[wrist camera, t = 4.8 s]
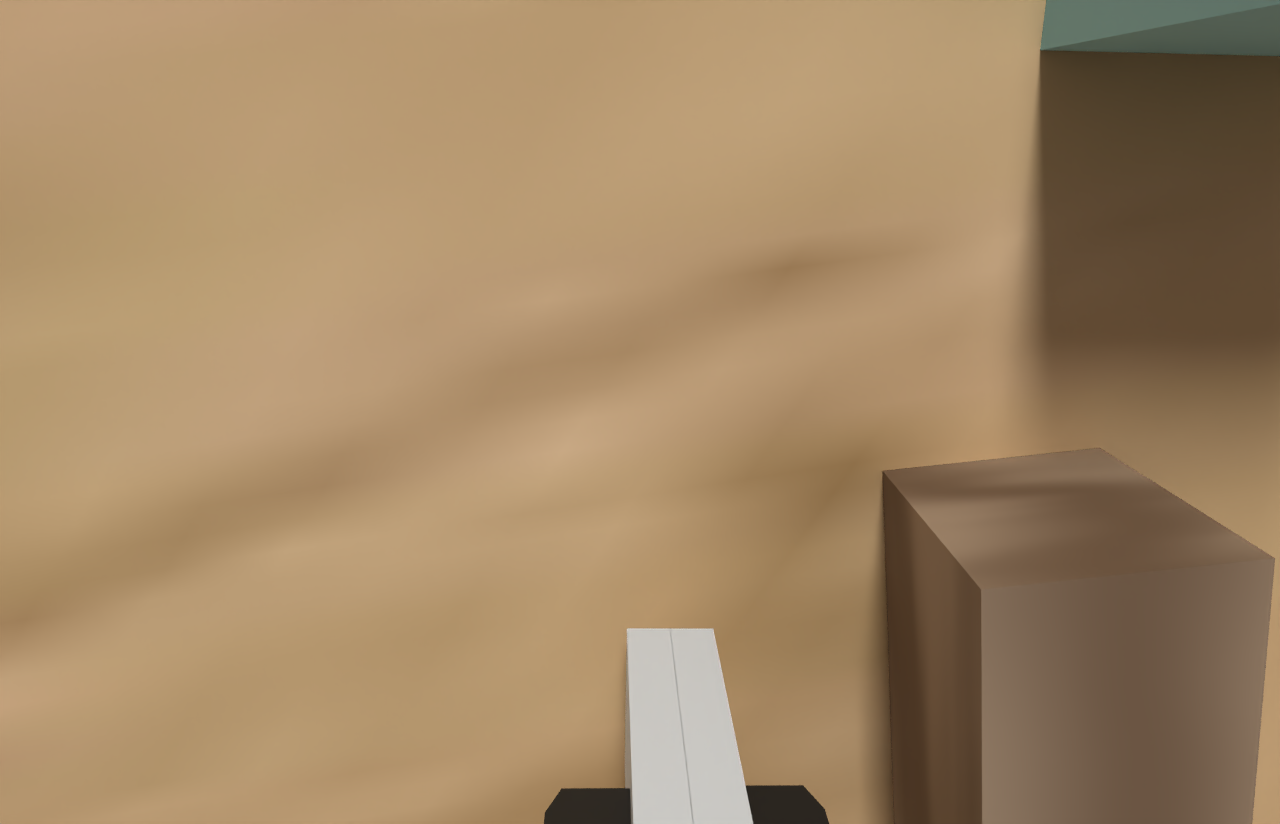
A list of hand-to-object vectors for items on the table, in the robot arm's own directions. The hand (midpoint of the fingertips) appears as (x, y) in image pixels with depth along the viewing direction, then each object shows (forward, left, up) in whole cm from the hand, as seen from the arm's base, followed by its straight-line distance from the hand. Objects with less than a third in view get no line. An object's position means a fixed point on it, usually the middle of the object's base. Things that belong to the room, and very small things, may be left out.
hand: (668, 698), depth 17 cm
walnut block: (+6, 0, -2) cm, 7 cm away
